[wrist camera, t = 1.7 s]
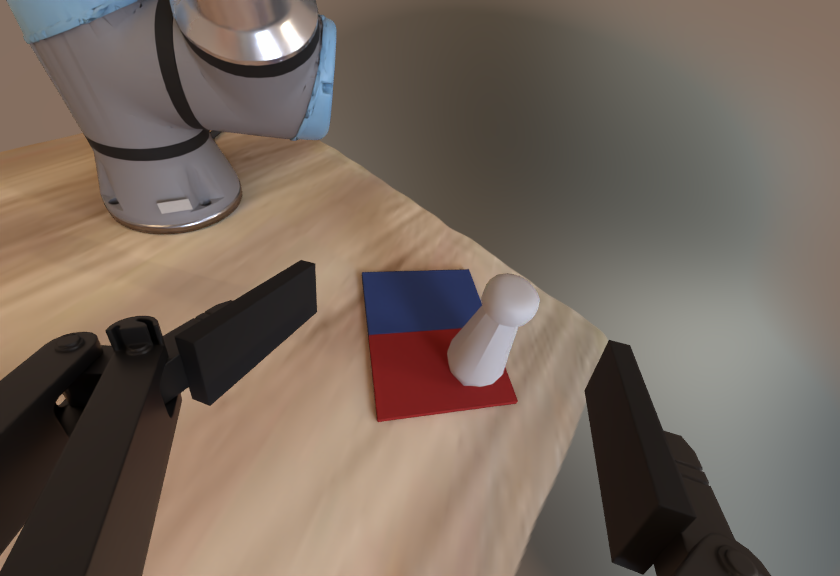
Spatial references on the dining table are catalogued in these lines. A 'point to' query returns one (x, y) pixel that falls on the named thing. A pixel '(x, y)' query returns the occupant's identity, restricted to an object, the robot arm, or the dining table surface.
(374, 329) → the sorting mat
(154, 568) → the dining table surface
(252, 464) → the dining table surface
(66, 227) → the dining table surface
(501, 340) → the salt shaker
